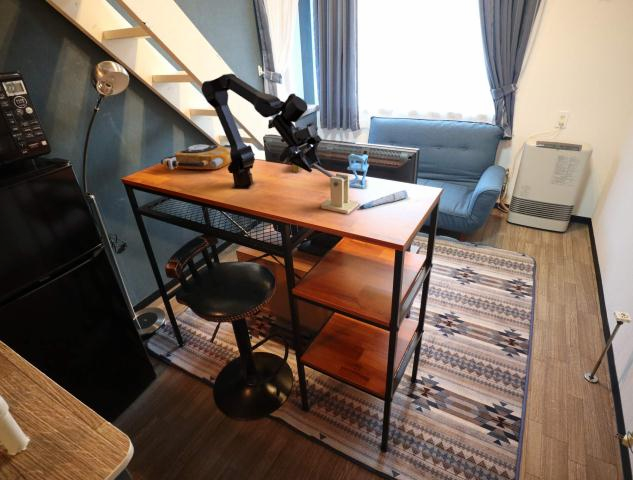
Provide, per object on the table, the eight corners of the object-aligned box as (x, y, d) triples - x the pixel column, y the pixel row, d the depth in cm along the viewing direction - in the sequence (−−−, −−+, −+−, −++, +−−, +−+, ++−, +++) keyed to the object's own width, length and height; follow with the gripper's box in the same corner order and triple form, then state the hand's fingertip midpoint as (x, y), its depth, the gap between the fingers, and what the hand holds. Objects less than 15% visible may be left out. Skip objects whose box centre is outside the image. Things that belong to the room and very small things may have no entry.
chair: (370, 181, 136) (371, 150, 130) (364, 188, 129) (365, 157, 123) (351, 178, 139) (352, 149, 133) (344, 186, 132) (344, 155, 126)
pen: (402, 195, 122) (403, 188, 121) (408, 198, 120) (409, 191, 118) (356, 208, 115) (356, 200, 113) (362, 211, 112) (362, 203, 111)
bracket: (321, 208, 116) (320, 177, 110) (332, 199, 122) (332, 170, 116) (347, 214, 111) (348, 182, 106) (358, 204, 117) (359, 174, 111)
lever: (306, 169, 113) (308, 163, 112) (314, 164, 117) (316, 158, 116) (338, 189, 110) (340, 183, 109) (346, 183, 114) (348, 177, 113)
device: (215, 157, 143) (153, 154, 149) (219, 176, 147) (158, 173, 154) (239, 143, 161) (183, 141, 168) (241, 160, 166) (187, 158, 172)
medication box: (299, 164, 158) (297, 155, 156) (304, 163, 157) (303, 155, 155) (293, 172, 148) (291, 163, 146) (299, 171, 147) (297, 162, 145)
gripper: (284, 120, 101) (315, 163, 102) (317, 110, 115) (344, 148, 116) (265, 143, 109) (294, 183, 110) (298, 130, 123) (324, 166, 124)
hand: (315, 169), depth 115 cm, fingers closed on lever, 5 cm apart
